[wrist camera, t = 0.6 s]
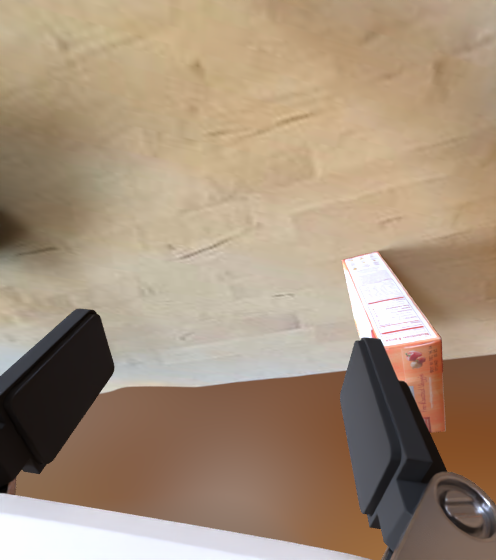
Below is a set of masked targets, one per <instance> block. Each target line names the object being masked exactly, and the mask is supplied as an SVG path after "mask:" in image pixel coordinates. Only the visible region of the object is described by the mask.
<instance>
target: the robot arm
mask: <svg viewBox="0 0 496 560" xmlns="http://www.w3.org/2000/svg"><path fill="white" fill-rule="evenodd" d="M113 372H114V363H113V359H112V356H111V353H110V349H109V346H108V342H107V339H106V335H105V332H104V328H103V325H102V321H101V318H100V316H99V315H98V314H97V313H96V312H95V311H94V310H88V309H76V310H74V311H73V312H72V313H71V314H70V315H69V316H67V317H66V318H65V319H64V320H63V321H62V322H61V323H60V324H58V325H57V326H56V327H55V328H54V329H53V330H52V331H51V332H49V333H48V334H47V335H46V336H45V337H44V338H43V339H42V340H40V341H39V342H38V343H37V344H36V345H35V346H34V347H33V348H31V349H30V350H29V351H28V352H27V353H26V354H25V355H24V356H22V357H21V358H20V359H19V360H18V361H17V362H16V363H15V364H13V365H12V366H11V367H10V368H9V369H8V370H7V371H6V372H4V373H3V374H2V375H1V376H0V560H371V559H367V558H363V557H359V556H355V555H351V554H347V553H342V552H337V551H332V550H327V549H322V548H317V547H312V546H307V545H301V544H297V543H291V542H286V541H281V540H275V539H270V538H263V537H257V536H252V535H246V534H241V533H235V532H230V531H224V530H218V529H213V528H207V527H201V526H196V525H190V524H184V523H178V522H172V521H166V520H160V519H155V518H149V517H142V516H137V515H131V514H125V513H119V512H113V511H107V510H101V509H96V508H90V507H84V506H77V505H71V504H65V503H59V502H53V501H47V500H41V499H35V498H29V497H23V496H17V495H15V492H16V476H17V475H18V474H19V472H20V471H21V470H23V471H24V472H30V473H36V474H40V473H41V471H42V470H43V469H44V467H45V466H46V464H49V463H50V462H52V461H53V459H54V458H55V457H56V455H57V454H58V453H59V451H60V450H61V448H62V447H63V445H64V444H65V443H66V441H67V440H68V438H69V437H70V435H71V434H72V432H73V431H74V429H75V428H76V427H77V425H78V423H79V422H80V421H81V419H82V418H83V416H84V415H85V414H86V412H87V411H88V409H89V408H90V406H91V405H92V403H93V402H94V401H95V399H96V397H97V396H98V395H99V393H100V392H101V390H102V389H103V388H104V386H105V385H106V383H107V382H108V380H109V379H110V377H111V376H112V374H113ZM340 402H341V408H342V413H343V419H344V424H345V429H346V435H347V441H348V446H349V451H350V457H351V462H352V468H353V473H354V478H355V484H356V489H357V495H358V500H359V505H360V509H361V512H362V513H363V514H367V516H368V521H369V526H370V527H371V528H377V529H381V531H382V535H383V540H384V542H385V543H386V545H387V546H388V547H387V549H386V551H385V553H384V555H383V557H382V559H381V560H496V505H495V503H494V502H493V501H492V500H491V499H490V497H489V496H488V495H487V494H486V493H485V492H484V491H483V490H482V489H481V488H480V487H478V486H477V485H476V484H475V483H473V482H472V481H470V480H469V479H467V478H465V477H463V476H461V475H458V474H455V473H453V472H447V470H446V468H445V466H444V463H443V461H442V459H441V457H440V455H439V452H438V450H437V448H436V446H435V443H434V441H433V439H432V437H431V434H430V432H429V430H428V428H427V426H426V423H425V421H424V419H423V417H422V415H421V412H420V410H419V408H418V406H417V403H416V401H415V399H414V397H413V395H412V392H411V390H410V388H409V386H408V385H407V383H406V382H405V381H399V380H398V378H397V376H396V373H395V371H394V369H393V366H392V364H391V362H390V359H389V357H388V354H387V352H386V350H385V347H384V345H383V343H382V341H381V339H379V338H369V337H362V338H361V340H360V341H355V343H354V347H353V350H352V354H351V358H350V361H349V365H348V368H347V372H346V375H345V379H344V383H343V386H342V390H341V395H340Z"/></svg>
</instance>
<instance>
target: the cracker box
mask: <svg viewBox="0 0 496 560" xmlns="http://www.w3.org/2000/svg"><path fill="white" fill-rule="evenodd" d="M342 263H343V267H344V272H345V277H346V282H347V287H348V291H349V296H350V301H351V306H352V310H353V315H354V319H355V323H356V328H357V331H358V334H359V337H360V340H361V338H362V337H369V338H379V339H381V341H382V343H383V345H384V347H385V350H386V352H387V354H388V357H389V359H390V362H391V364H392V366H393V369H394V371H395V373H396V376H397V378H398V380H399V381H405V382H406V383H407V385H408V386H409V388H410V390H411V392H412V395H413V397H414V399H415V401H416V403H417V406H418V408H419V410H420V412H421V415H422V417H423V419H424V421H425V423H426V426H427V428H428V430H429V432H441V431H446V427H445V408H444V390H443V363H442V362H443V361H442V340H441V337H440V336H439V334H438V333H437V332H436V330H435V329H434V328H433V326H432V325H431V324H430V322H429V321H428V319H427V318H426V317H425V315H424V314H423V312H422V311H421V310H420V308H419V307H418V306H417V304H416V303H415V302H414V300H413V299H412V297H411V296H410V295H409V293H408V292H407V291H406V289H405V288H404V286H403V285H402V284H401V282H400V281H399V280H398V278H397V277H396V275H395V274H394V273H393V271H392V270H391V269H390V267H389V266H388V264H387V263H386V262H385V260H384V259H383V258H382V256H381V255H380V253H379V252H374V253H370V254H365V255H361V256H357V257H353V258H349V259H345V260H342Z"/></svg>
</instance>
